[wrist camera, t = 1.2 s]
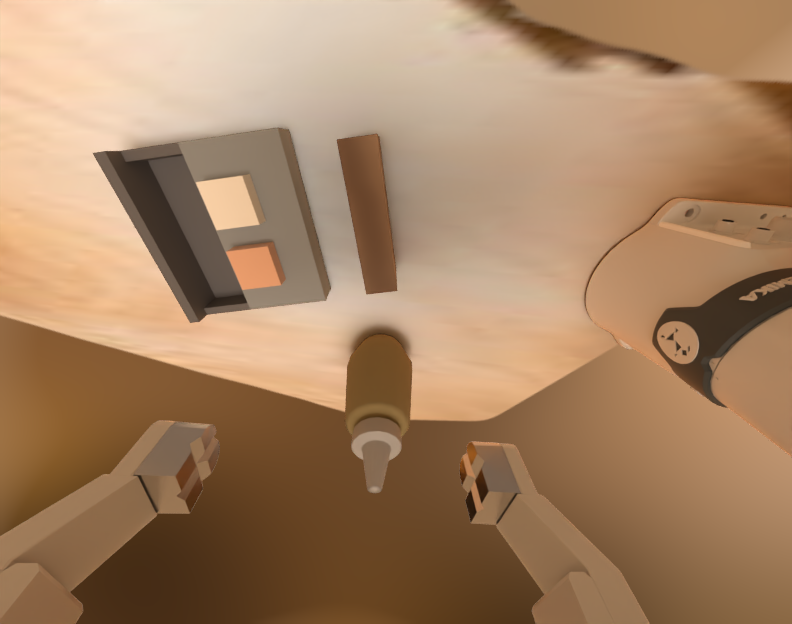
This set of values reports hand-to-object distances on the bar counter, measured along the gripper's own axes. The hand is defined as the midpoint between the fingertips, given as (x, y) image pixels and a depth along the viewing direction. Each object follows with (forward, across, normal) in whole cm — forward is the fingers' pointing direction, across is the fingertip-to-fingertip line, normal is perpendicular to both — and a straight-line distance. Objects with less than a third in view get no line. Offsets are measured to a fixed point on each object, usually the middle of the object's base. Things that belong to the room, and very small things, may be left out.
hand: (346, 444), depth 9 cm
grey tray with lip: (+25, +13, +1) cm, 28 cm away
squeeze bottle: (+25, -3, +15) cm, 29 cm away
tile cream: (+22, +12, -2) cm, 25 cm away
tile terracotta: (+22, +11, +4) cm, 25 cm away
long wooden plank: (+25, 0, -3) cm, 25 cm away
